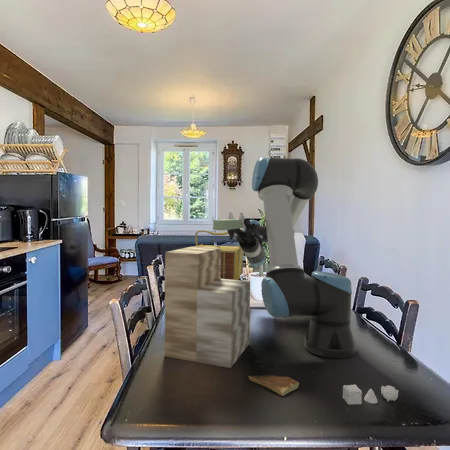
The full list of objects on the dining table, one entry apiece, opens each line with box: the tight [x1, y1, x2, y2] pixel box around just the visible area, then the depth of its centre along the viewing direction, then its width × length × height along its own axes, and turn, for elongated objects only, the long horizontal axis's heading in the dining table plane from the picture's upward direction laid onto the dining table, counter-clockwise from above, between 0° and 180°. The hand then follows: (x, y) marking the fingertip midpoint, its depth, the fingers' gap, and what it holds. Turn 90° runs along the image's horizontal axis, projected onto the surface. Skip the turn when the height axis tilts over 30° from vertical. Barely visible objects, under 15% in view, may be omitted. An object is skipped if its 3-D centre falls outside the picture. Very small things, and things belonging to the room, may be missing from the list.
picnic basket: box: [194, 229, 245, 280], centre depth 207 cm, size 29×26×30 cm
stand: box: [164, 245, 251, 369], centre depth 103 cm, size 18×20×30 cm
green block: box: [212, 218, 244, 231], centre depth 116 cm, size 26×3×3 cm, turn 161°
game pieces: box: [342, 384, 399, 406], centre depth 78 cm, size 12×3×3 cm, turn 95°
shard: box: [247, 374, 300, 397], centre depth 85 cm, size 11×8×2 cm
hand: (235, 216), depth 120 cm, fingers closed on green block, 3 cm apart
